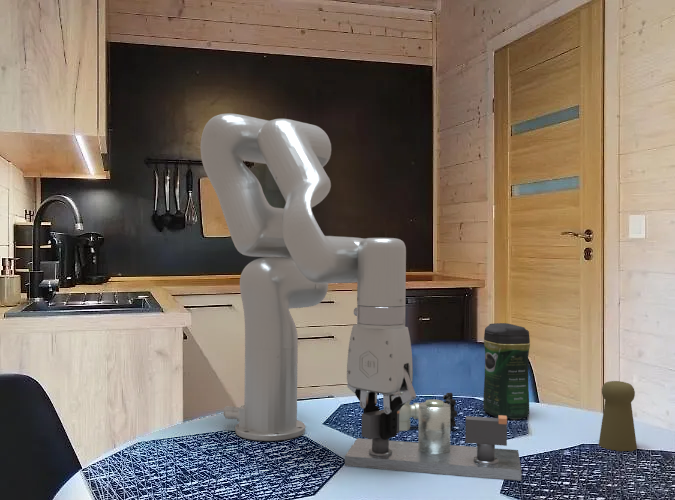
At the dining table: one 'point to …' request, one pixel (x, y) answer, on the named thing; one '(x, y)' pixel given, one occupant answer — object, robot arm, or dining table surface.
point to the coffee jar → (506, 370)
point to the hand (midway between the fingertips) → (379, 434)
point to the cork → (618, 417)
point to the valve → (413, 411)
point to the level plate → (435, 460)
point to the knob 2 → (486, 435)
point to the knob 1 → (375, 430)
